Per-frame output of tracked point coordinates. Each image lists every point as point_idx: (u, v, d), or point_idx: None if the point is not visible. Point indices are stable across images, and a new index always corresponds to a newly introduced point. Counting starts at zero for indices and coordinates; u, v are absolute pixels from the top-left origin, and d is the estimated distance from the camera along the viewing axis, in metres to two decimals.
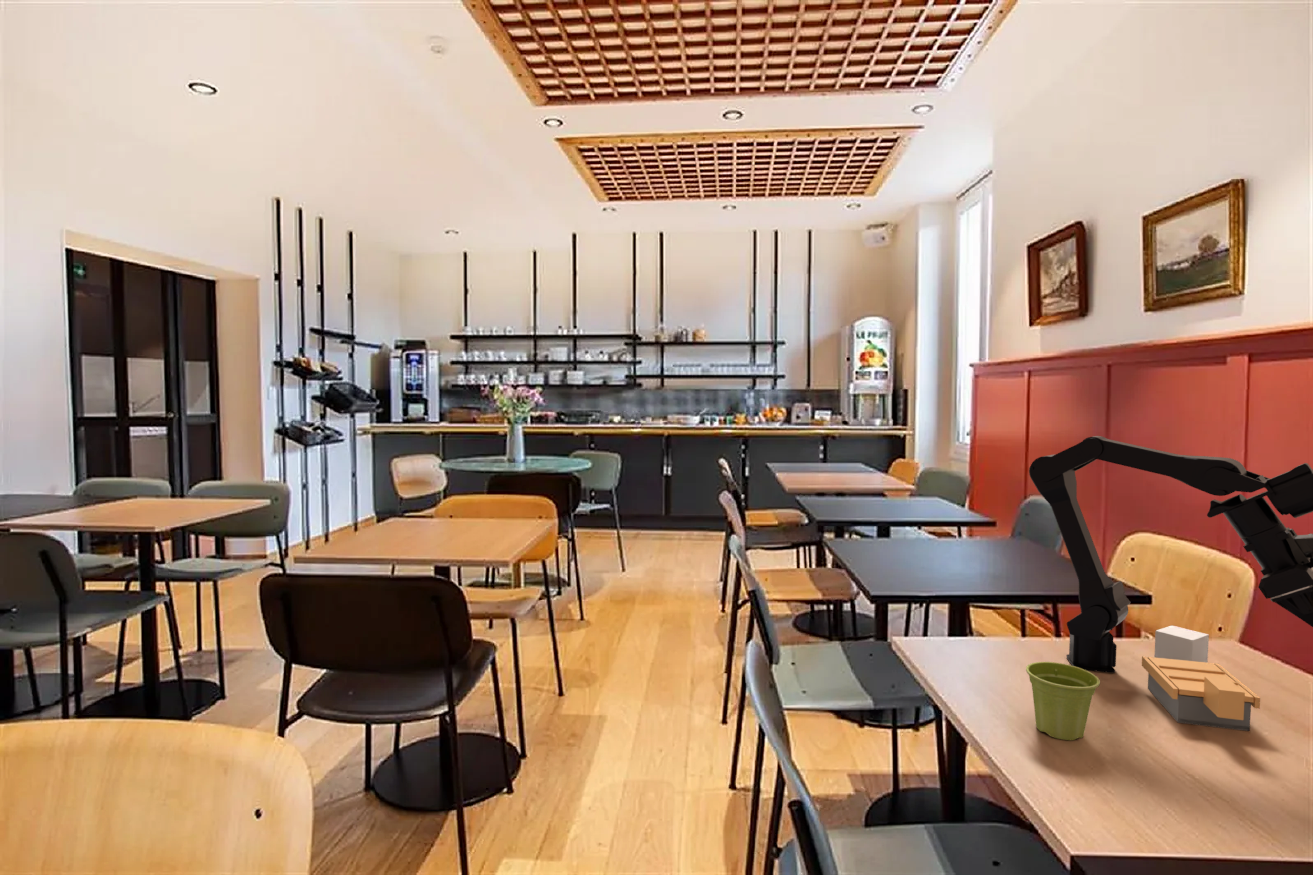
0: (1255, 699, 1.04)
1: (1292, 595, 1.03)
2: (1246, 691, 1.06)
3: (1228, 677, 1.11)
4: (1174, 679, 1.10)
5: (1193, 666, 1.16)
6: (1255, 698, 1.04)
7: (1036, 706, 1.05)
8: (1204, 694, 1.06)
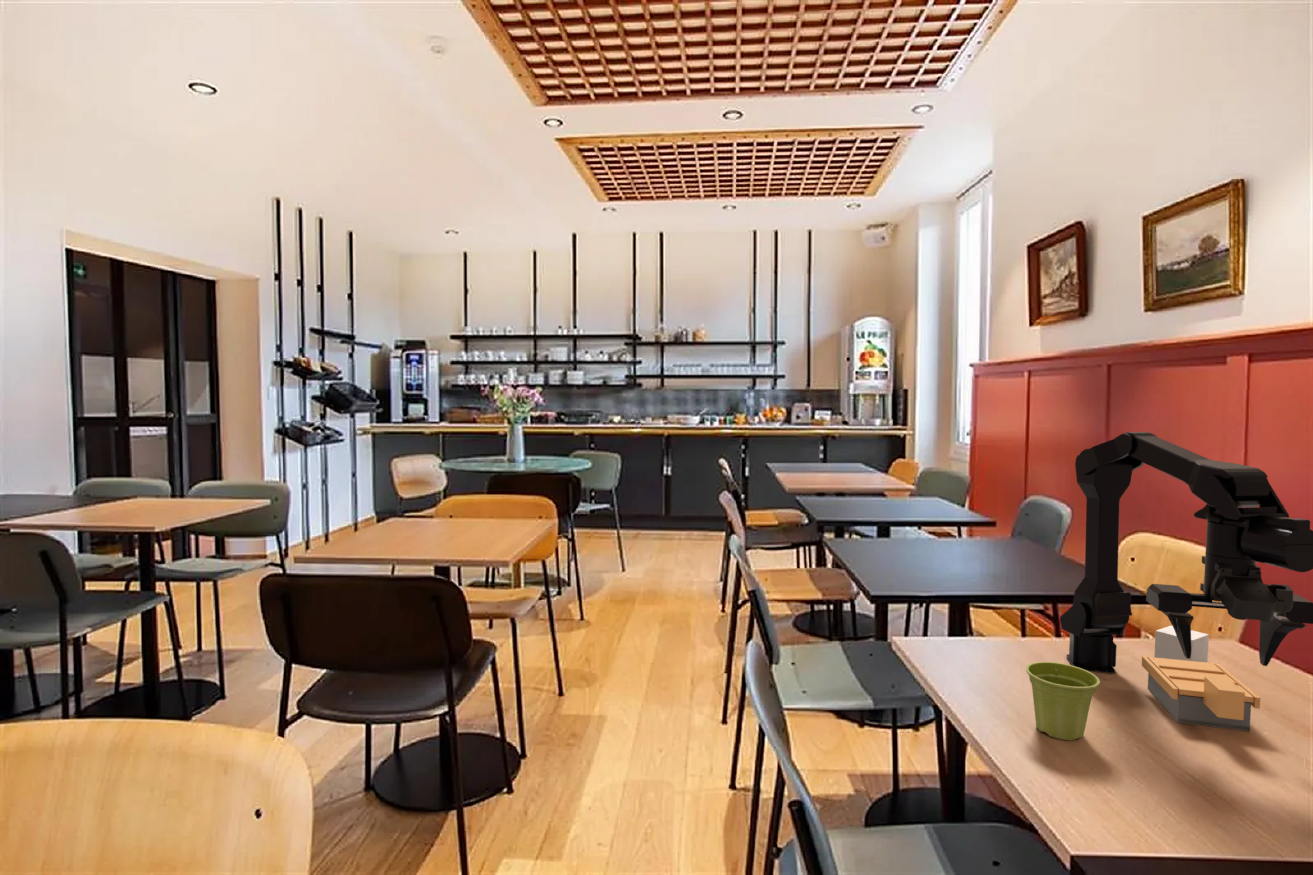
0: (1255, 699, 1.04)
1: (1161, 610, 1.05)
2: (1246, 691, 1.06)
3: (1228, 677, 1.11)
4: (1174, 679, 1.10)
5: (1193, 666, 1.16)
6: (1255, 698, 1.04)
7: (1036, 706, 1.05)
8: (1204, 694, 1.06)
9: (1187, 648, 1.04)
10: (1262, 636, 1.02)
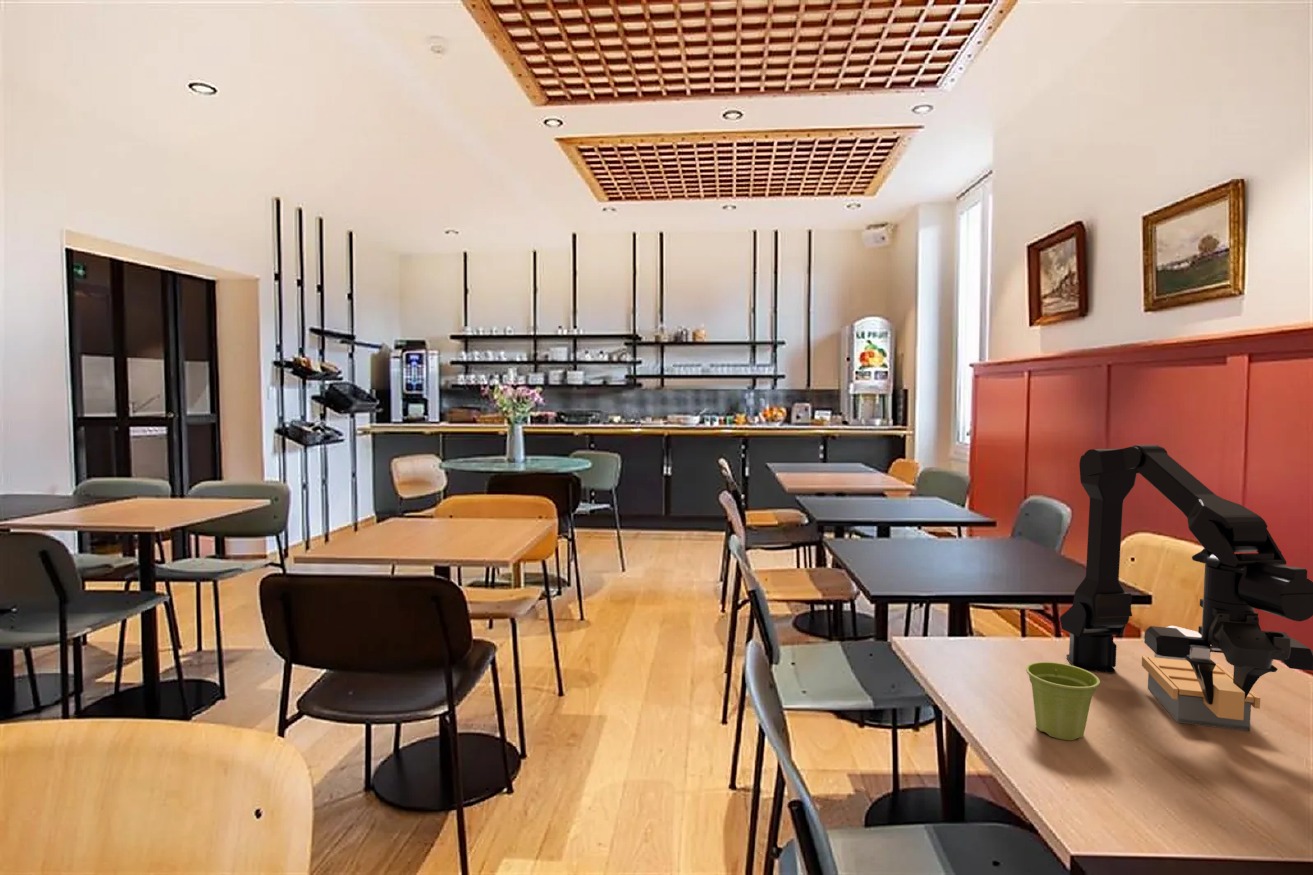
0: (1255, 699, 1.04)
1: None
2: None
3: (1228, 677, 1.11)
4: (1174, 679, 1.10)
5: None
6: (1255, 698, 1.04)
7: (1036, 706, 1.05)
8: None
9: (1209, 694, 1.03)
10: (1236, 678, 1.03)
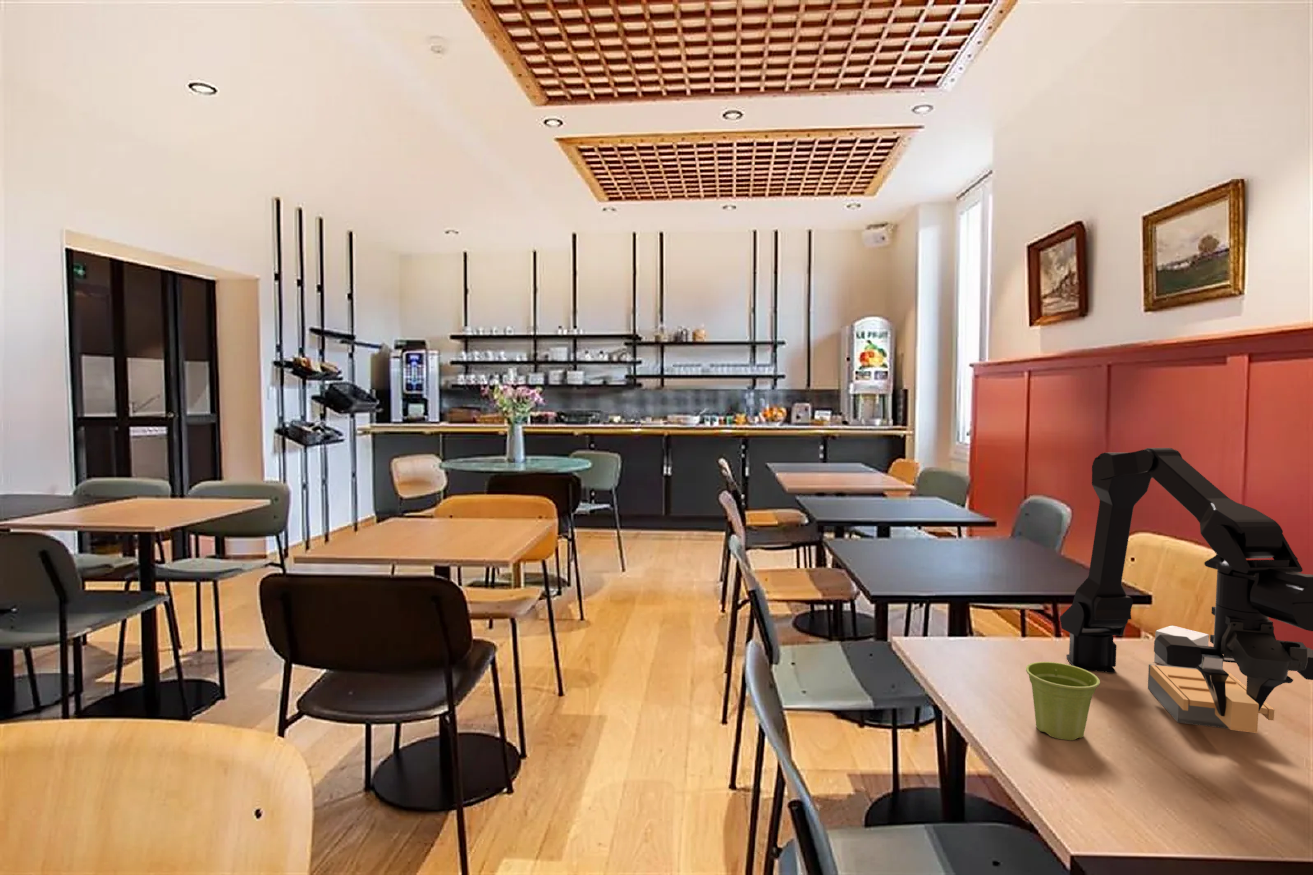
0: (1269, 711, 1.00)
1: None
2: None
3: (1240, 687, 1.07)
4: (1184, 689, 1.07)
5: None
6: (1269, 709, 1.00)
7: (1036, 706, 1.05)
8: None
9: (1221, 705, 0.99)
10: (1249, 688, 1.00)
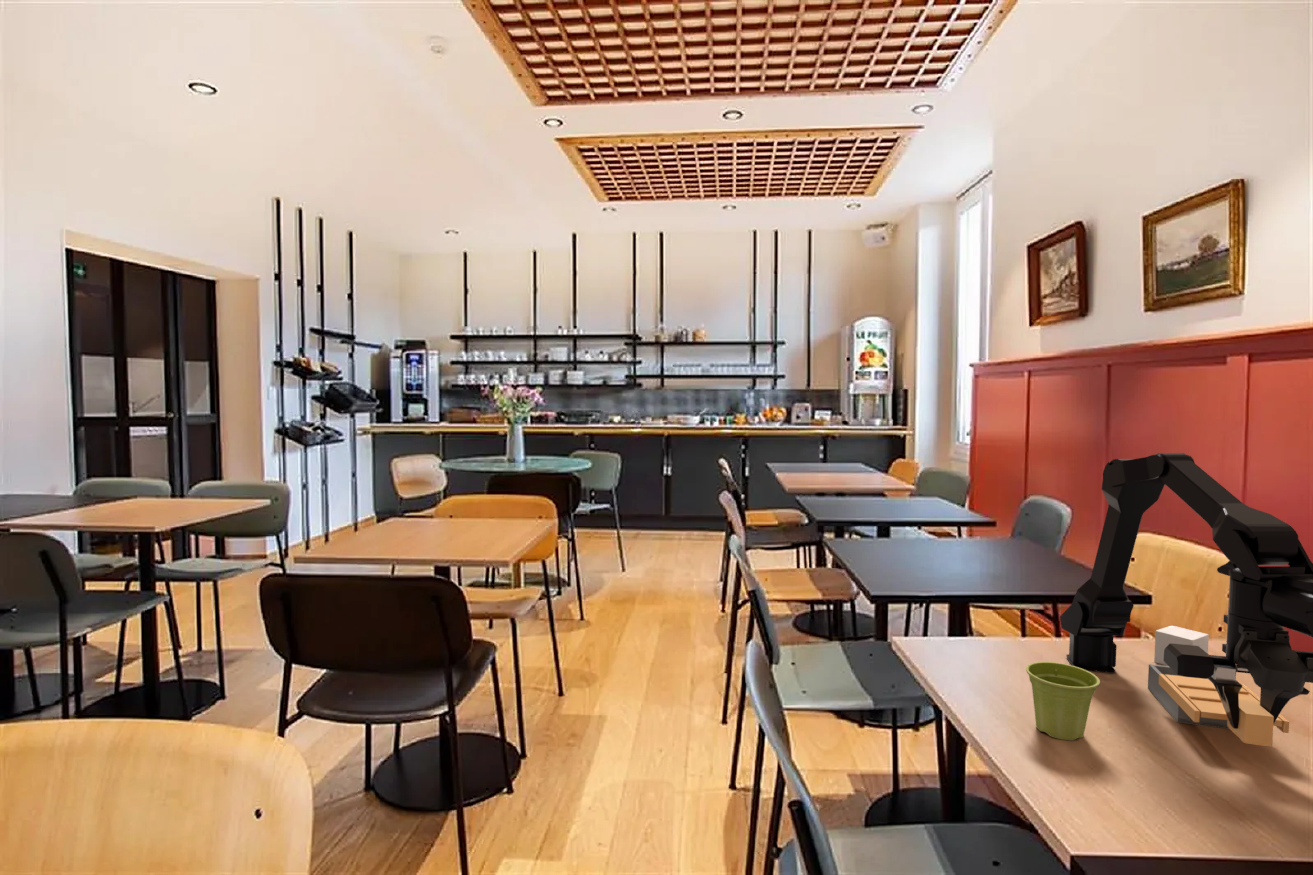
0: (1283, 723, 0.97)
1: None
2: None
3: (1253, 698, 1.04)
4: (1194, 700, 1.03)
5: None
6: (1283, 722, 0.97)
7: (1036, 706, 1.05)
8: None
9: (1234, 718, 0.95)
10: (1263, 700, 0.96)
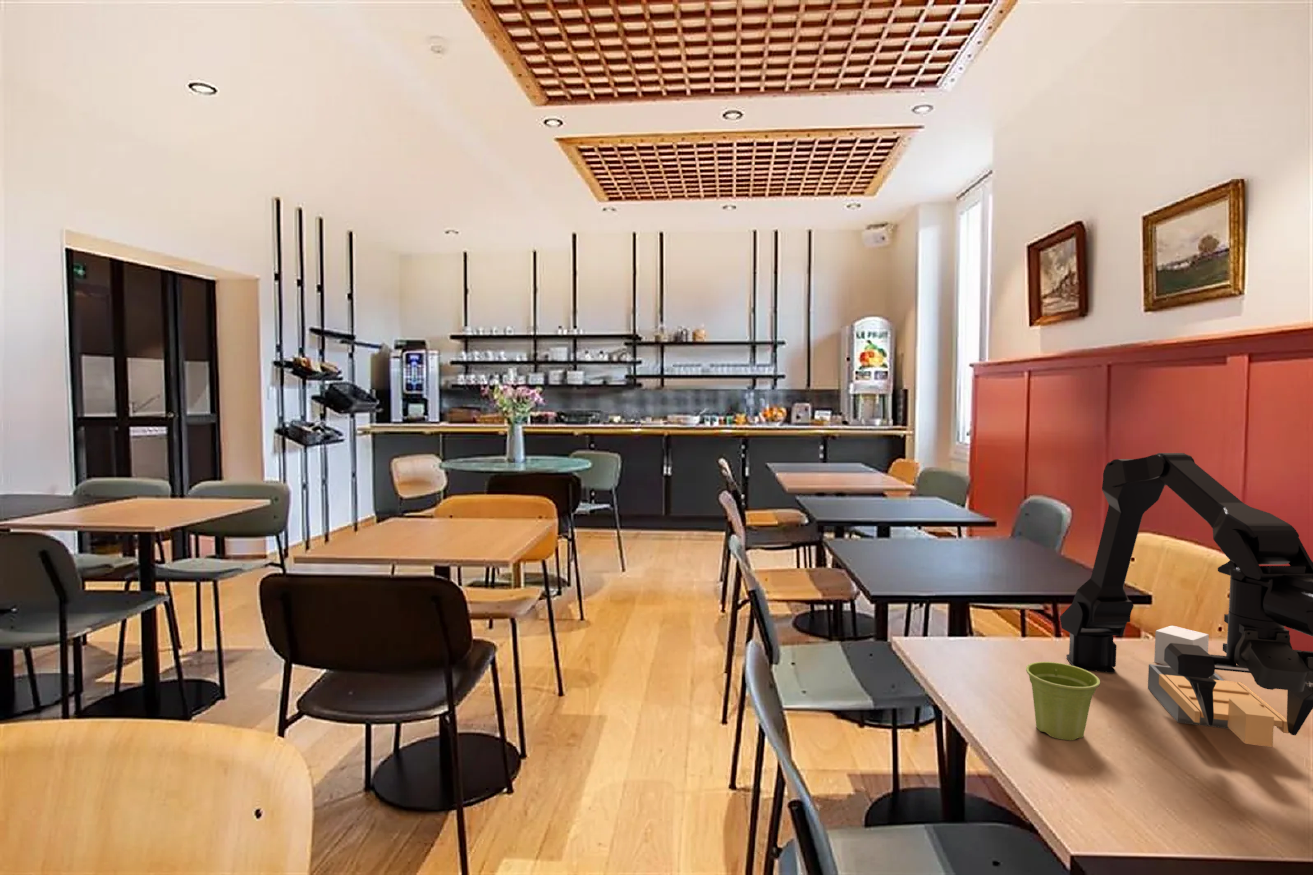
0: (1284, 723, 0.96)
1: None
2: (1274, 714, 0.98)
3: (1253, 698, 1.04)
4: (1195, 700, 1.03)
5: None
6: (1284, 722, 0.96)
7: (1036, 706, 1.05)
8: (1228, 717, 0.98)
9: (1209, 714, 0.96)
10: (1290, 702, 0.95)
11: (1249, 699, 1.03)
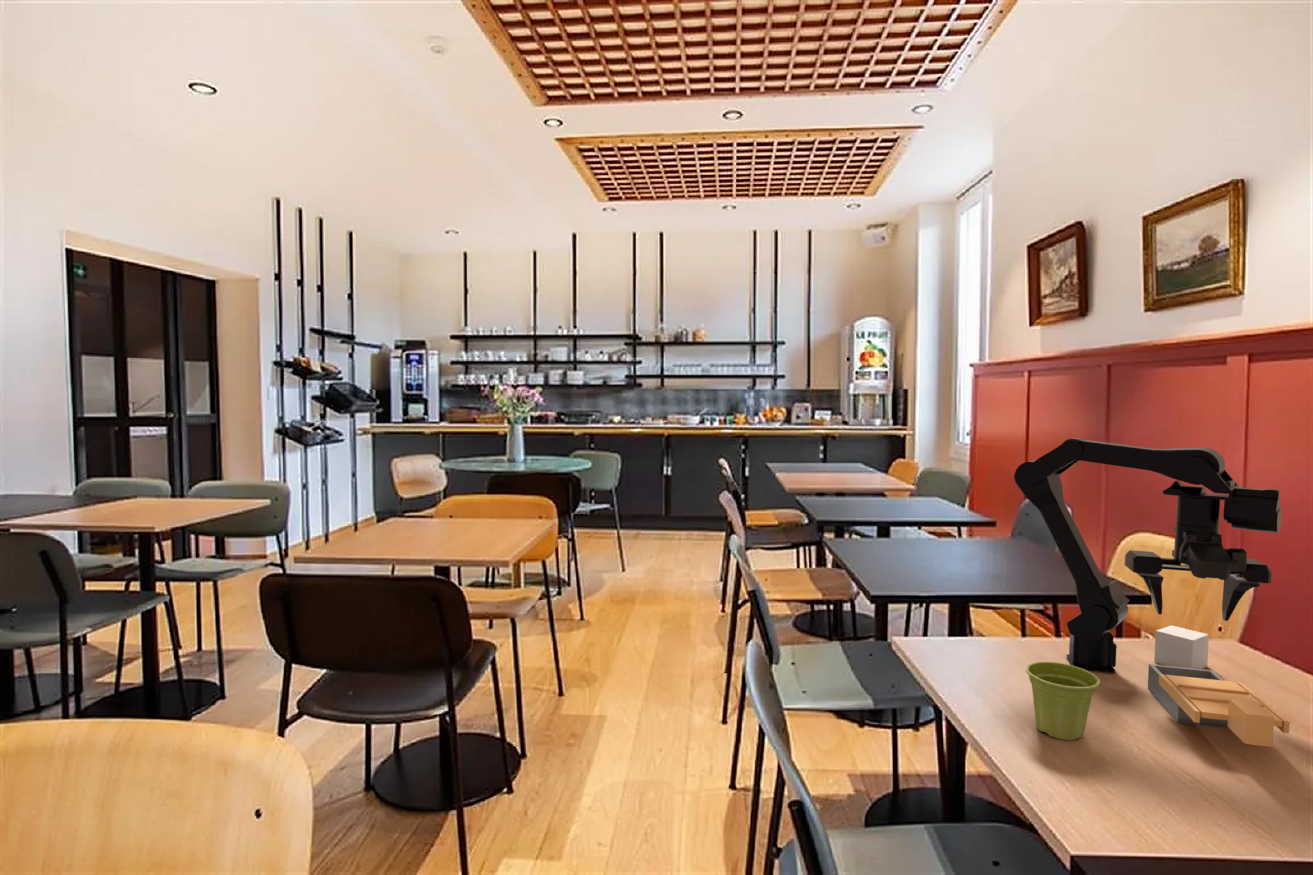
0: (1284, 723, 0.96)
1: (1137, 573, 1.21)
2: (1274, 714, 0.98)
3: (1253, 698, 1.04)
4: (1195, 700, 1.03)
5: (1214, 685, 1.08)
6: (1284, 722, 0.96)
7: (1036, 706, 1.05)
8: (1228, 717, 0.98)
9: (1159, 605, 1.19)
10: (1225, 595, 1.18)
11: (1249, 699, 1.03)
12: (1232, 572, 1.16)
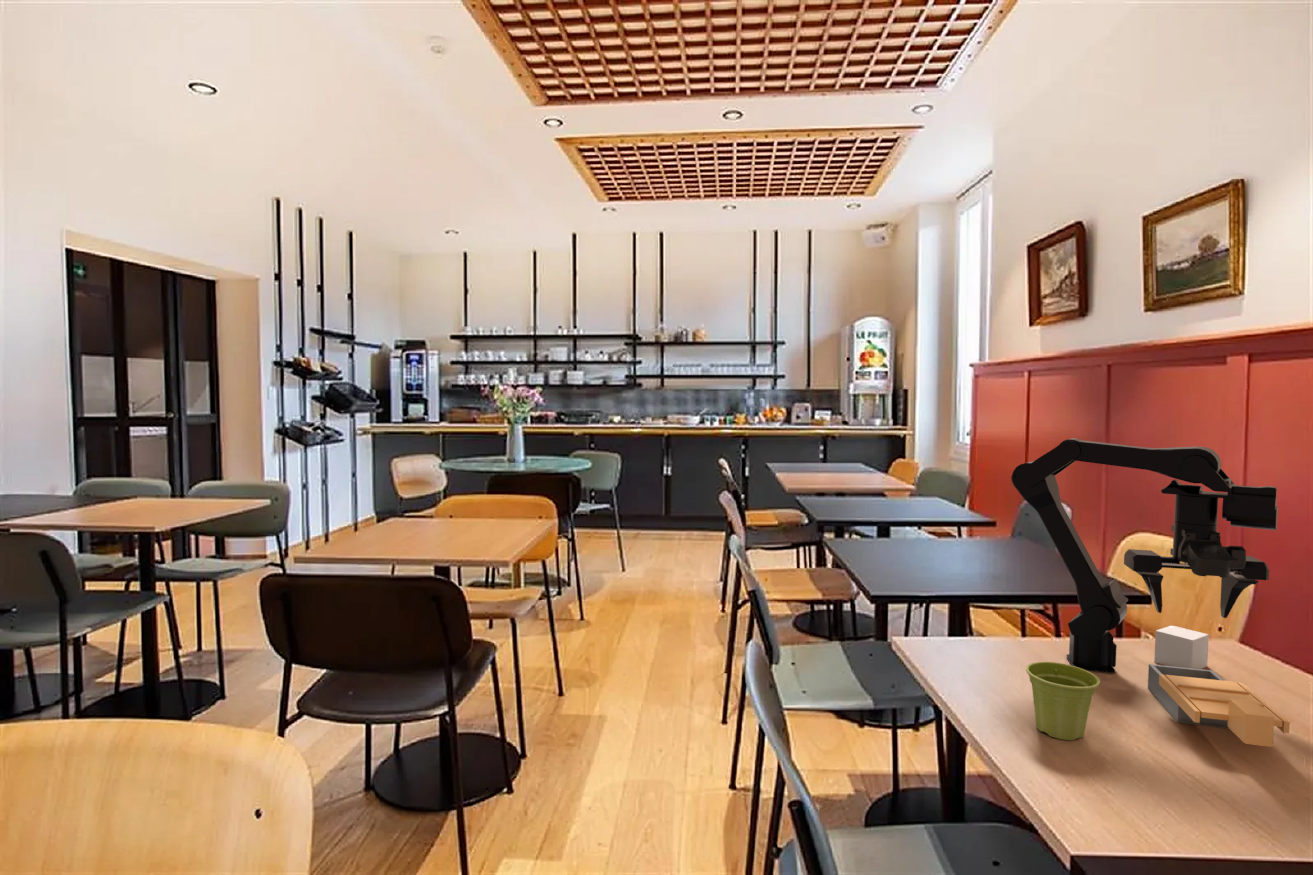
0: (1284, 723, 0.96)
1: (1136, 571, 1.22)
2: (1274, 714, 0.98)
3: (1253, 698, 1.04)
4: (1195, 700, 1.03)
5: (1214, 685, 1.08)
6: (1284, 722, 0.96)
7: (1036, 706, 1.05)
8: (1228, 717, 0.98)
9: (1158, 603, 1.20)
10: (1223, 593, 1.19)
11: (1249, 699, 1.03)
12: (1230, 569, 1.17)
